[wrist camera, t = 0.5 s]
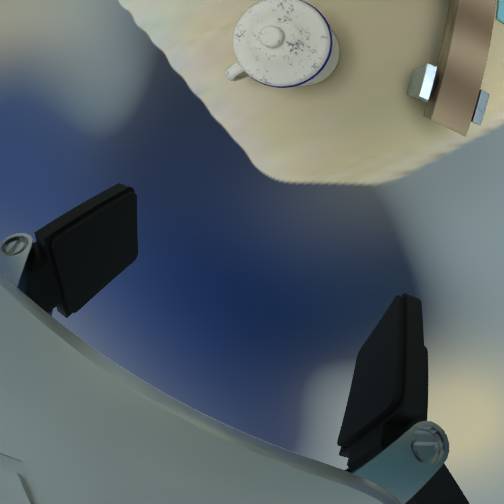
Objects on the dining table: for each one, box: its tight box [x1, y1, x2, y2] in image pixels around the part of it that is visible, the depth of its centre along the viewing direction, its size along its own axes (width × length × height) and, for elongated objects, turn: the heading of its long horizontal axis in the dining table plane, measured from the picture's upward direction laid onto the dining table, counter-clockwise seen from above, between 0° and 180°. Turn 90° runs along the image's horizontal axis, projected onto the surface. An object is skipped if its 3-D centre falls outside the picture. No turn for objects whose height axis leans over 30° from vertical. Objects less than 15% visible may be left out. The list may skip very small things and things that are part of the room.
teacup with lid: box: [225, 0, 340, 88], centre depth 25 cm, size 12×9×12 cm
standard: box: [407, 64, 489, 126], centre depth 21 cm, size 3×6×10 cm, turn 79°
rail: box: [424, 0, 496, 137], centre depth 14 cm, size 20×3×4 cm, turn 169°
